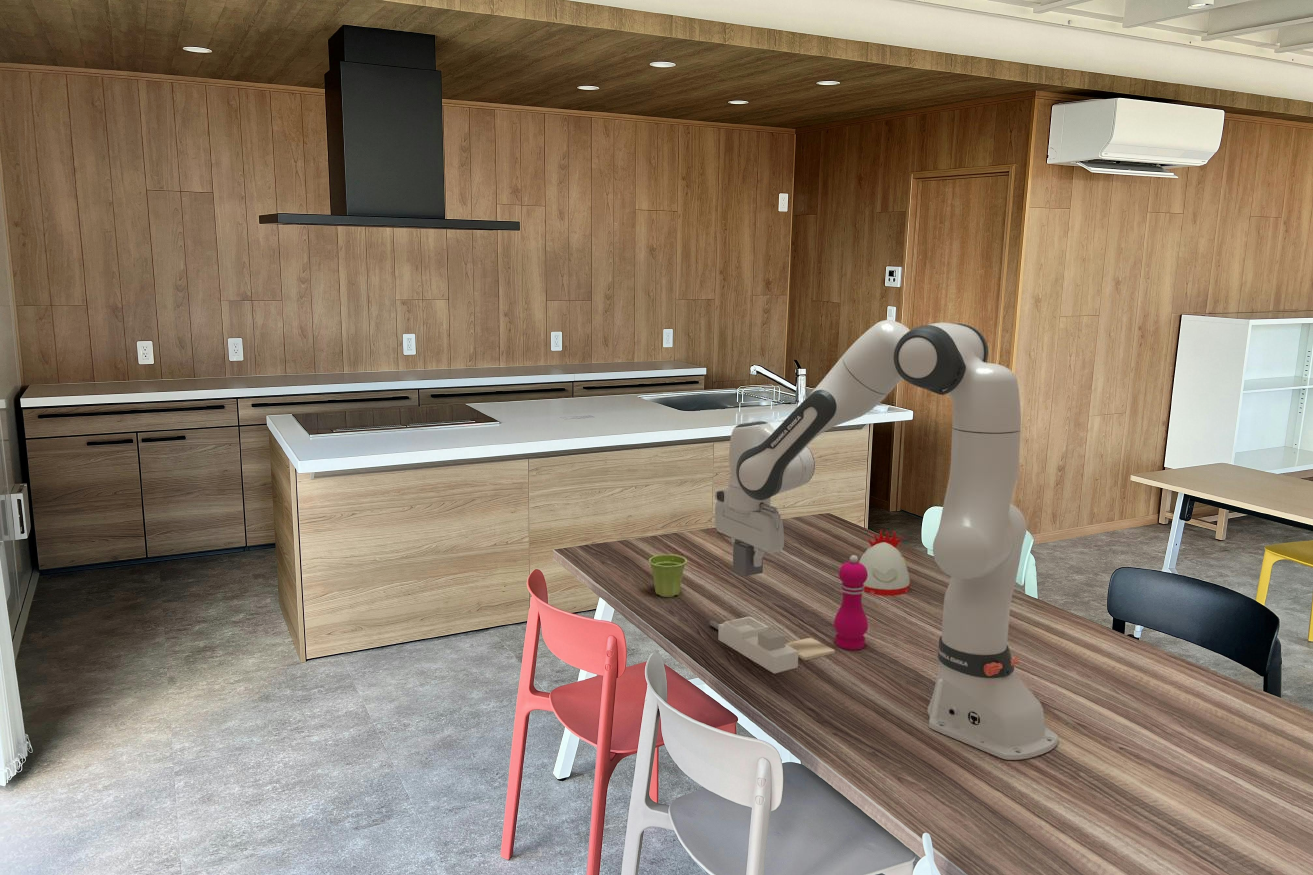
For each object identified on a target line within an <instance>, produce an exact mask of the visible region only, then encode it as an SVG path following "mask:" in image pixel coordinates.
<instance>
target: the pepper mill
mask: <svg viewBox="0 0 1313 875" xmlns="http://www.w3.org/2000/svg"><path fill="white" fill-rule="evenodd" d="M838 577H839V579H840V581H841V583H840V591H841V592H842V600H841V605H840V607H839V609H838V611H837V613H836V614H835V617H834V620H833V628H834V630H835V631H836V632H837V633H836V634H835V640H834V641H835V645H836V646H837V647H839V648H840V649H843V650H851V651H854V650H855V651H856V650H861V649H863V648H864V647H866V646H865V645H866V637H865V636H864V635H865V634H866V633H867V632H868V630H869V622H868V619H867V615H866V613H865V611H864V609H863V604H862V596H863V594H864V593H865V592H864V591H865V590H864V587H865V586H864V584H863V583H864V582H865V581H866V580H867V577H868V574H867V569H866V568H865V566H864V565H863V564H861V563H859V558H858V556H857V555H855V554H853V555H851V556H850V557H849V561H847V562H844V563H843V564H842V565H841V566H840V568H839V571H838Z"/></svg>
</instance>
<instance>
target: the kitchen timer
mask: <svg viewBox="0 0 1313 875" xmlns="http://www.w3.org/2000/svg"><path fill="white" fill-rule="evenodd" d="M879 531H880V532H879V535H878V536H879V537H878V536H877V535H876V533H874V534H873V536H874V542H872V541H871V539H870V537H868V543H869V547H868V548H867V549H866V551H864V553H863V554H862V555H861V557H860V559H859V560H858V562H859V563H861V564H863V565H864V566H865V568H866V569H867V574H868V577H867V580H866V581H865V582H864V583H863V584H864V586H865V587H864V590H865V591H864V592H863V593H866V594H870V595H875V596H882V597H883V596H884V597H886V596H889V597H891V596H892V597H893V596H900V595H904V594H906V593H908V592H909V591H910V586H911V580H910V575H909V571H908V566H907V562H908V560H906V558H904V556H903V555H902V553H901V552H900V550H899V549H898V548H897V547H898V545H899V543H900V541H901V539H902V535H900V536H899V537H898V538H897V537H896V536H897V535H896V531H895V530H894V531H893V533H892V536H891V538H890V534H889V531H888V529H887V530H886V532H885V536H884V534H883V529H880V530H879ZM896 538H897V539H896Z"/></svg>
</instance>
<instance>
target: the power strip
mask: <svg viewBox="0 0 1313 875" xmlns="http://www.w3.org/2000/svg"><path fill="white" fill-rule="evenodd" d="M709 626H711V627H712V628H714V629H716V630H718V631H717V632H718V635H717V636H718V638H717V639H718V641H719V642H721V643H723V644H725V645H726V646H728V647H730V648H731V649H733V650H735V651H737V652H738V653H739V654H741V655H743V656H744V657H746V658H748V659H750V660H751V661H753V662H754V663H756V664H758V665H759V666H761V667H763V668H764V669H765V670H767V671H769V672H771V673H772V674H779V673H782V672H786V671H790V670H793V669H797V668H798V667H799V657H798V651H797V650H795V649H793V648H792V647H790V646H788V645H786V644H785V643H786V634H784V633H781V632H780V631H778V630H777V629H774V628H772V629H770V627H769V625H766V624H765V623H763V622H761V621H759V620H758V619H755V618H754V617H752V616H745V617H741V618H735V619H730V620H725V621H723V623H718V622H716V621H714V620H710V621H709Z"/></svg>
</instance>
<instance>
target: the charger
mask: <svg viewBox="0 0 1313 875" xmlns="http://www.w3.org/2000/svg"><path fill="white" fill-rule="evenodd" d="M732 551H733V552H732V571H733V572H735V573H737V574H740V575H741V576H743V577H748V576H753V575H759V574H763V572H764V571H763V569H764V567H763V566H764V557H763V558H762V565H761V566H759V567H755V566H753V565H751V557H754V555H755V552H756V551H754V546H752V545H749V544H747V543H745V542H742V541H741V542H737V543H733V545H732Z"/></svg>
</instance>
